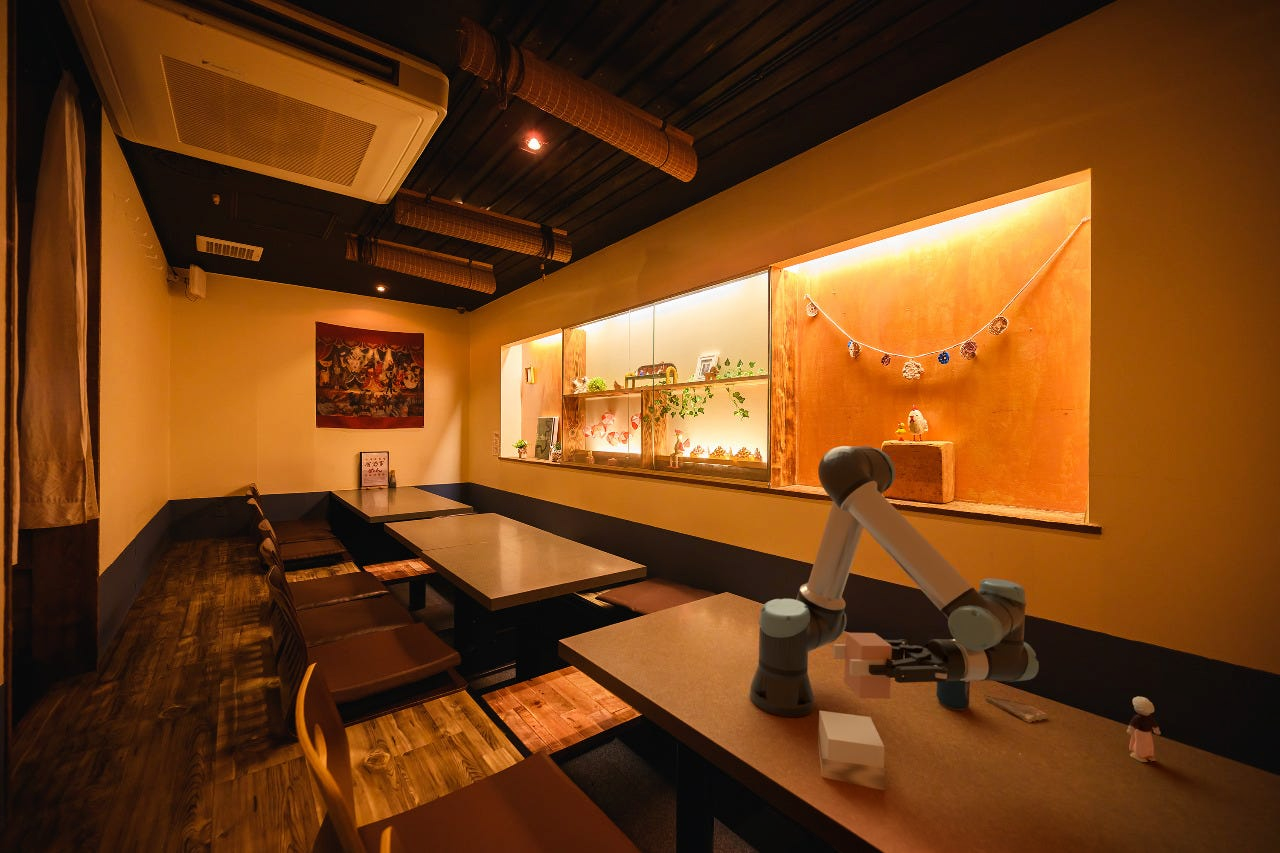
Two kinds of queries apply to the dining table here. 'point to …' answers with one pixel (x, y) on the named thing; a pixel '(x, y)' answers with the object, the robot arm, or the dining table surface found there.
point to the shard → (1018, 709)
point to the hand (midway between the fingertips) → (842, 659)
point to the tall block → (867, 649)
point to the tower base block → (850, 771)
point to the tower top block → (851, 739)
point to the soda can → (954, 694)
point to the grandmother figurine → (1142, 730)
